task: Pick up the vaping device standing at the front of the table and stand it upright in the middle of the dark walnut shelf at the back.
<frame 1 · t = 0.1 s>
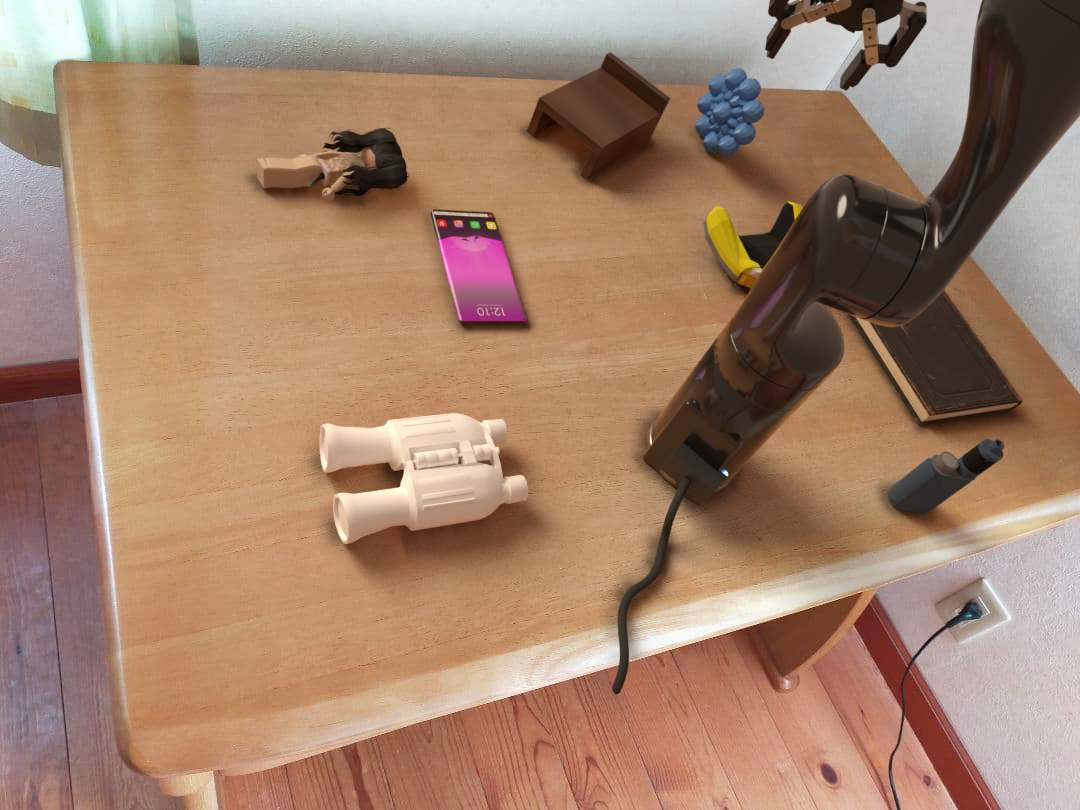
hand: (806, 69, 92), 22 cm above the table, tool pointing down, fingers open, 8 cm apart
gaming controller: (752, 262, 107), on the table
grapes: (712, 151, 119), on the table
hardcover book: (914, 341, 109), on the table
vaping device: (906, 503, 92), on the table
binoculars: (419, 484, 75), on the table
smartphone: (475, 269, 92), on the table
toy figure: (333, 185, 93), on the table
shelf: (589, 137, 111), on the table
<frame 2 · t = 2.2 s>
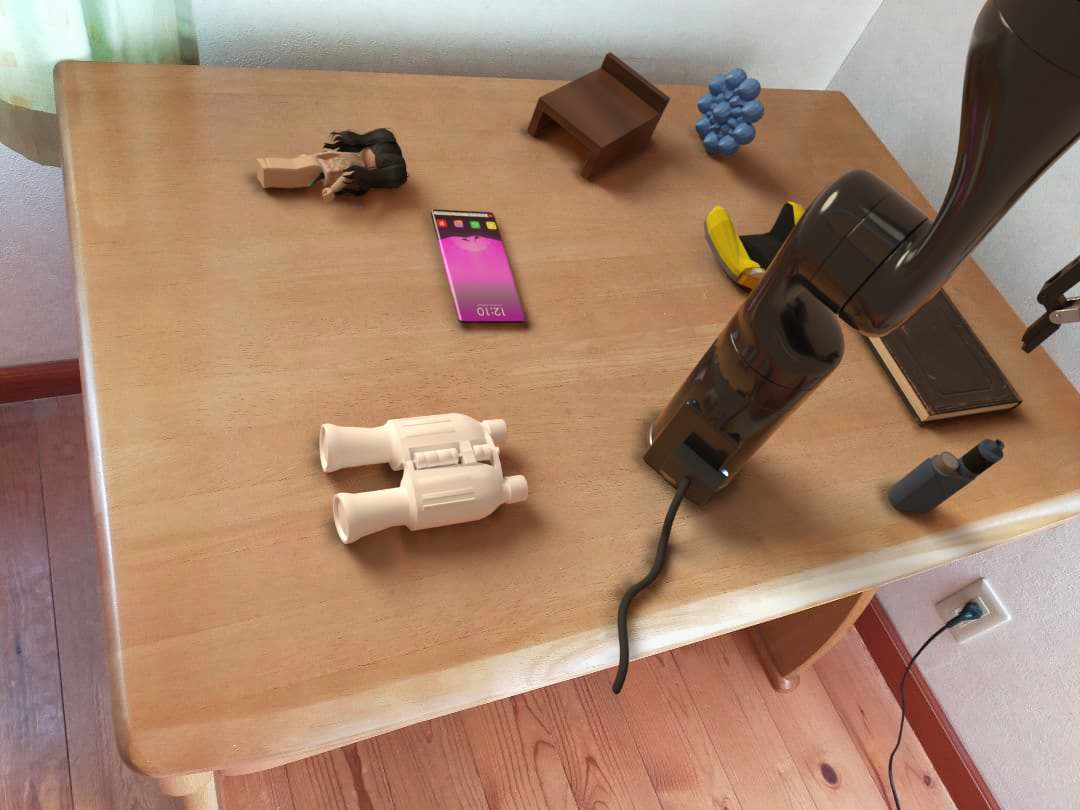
hand: (1068, 379, 75), 22 cm above the table, tool pointing down, fingers open, 8 cm apart
nothing on the table moved.
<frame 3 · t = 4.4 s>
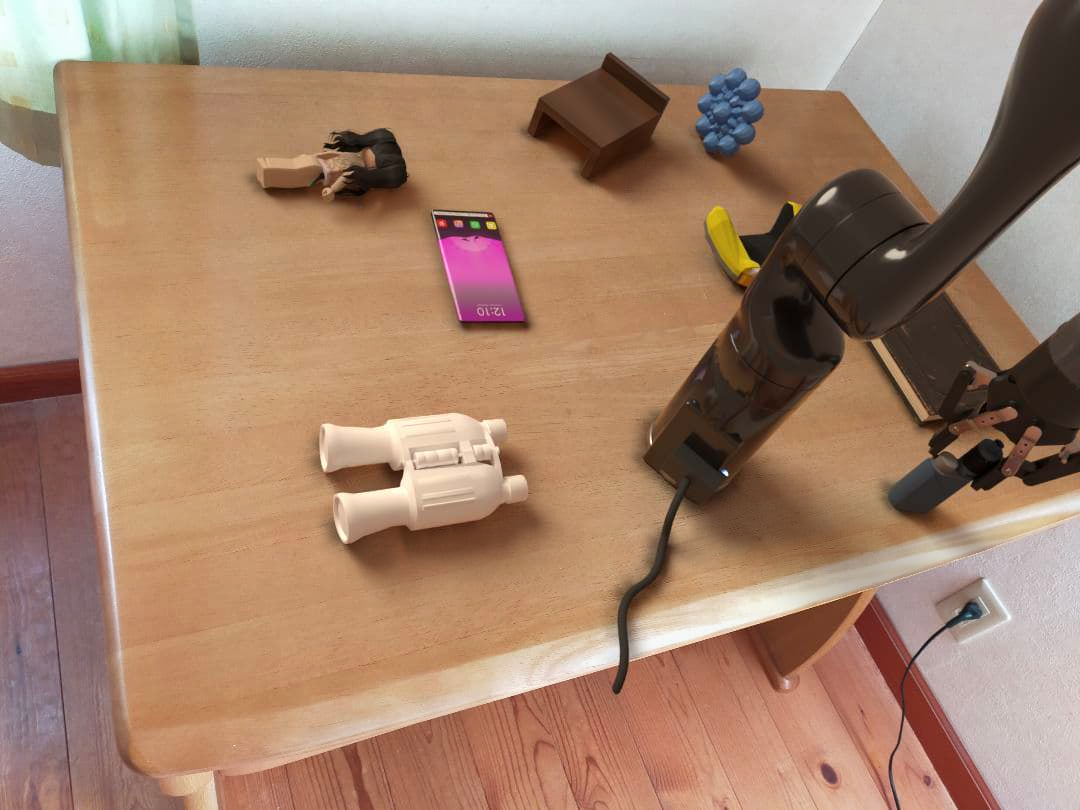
hand: (955, 466, 86), 7 cm above the table, tool pointing down, fingers closed on vaping device, 4 cm apart
vaping device: (906, 503, 92), on the table, touching gripper
everything else where it was.
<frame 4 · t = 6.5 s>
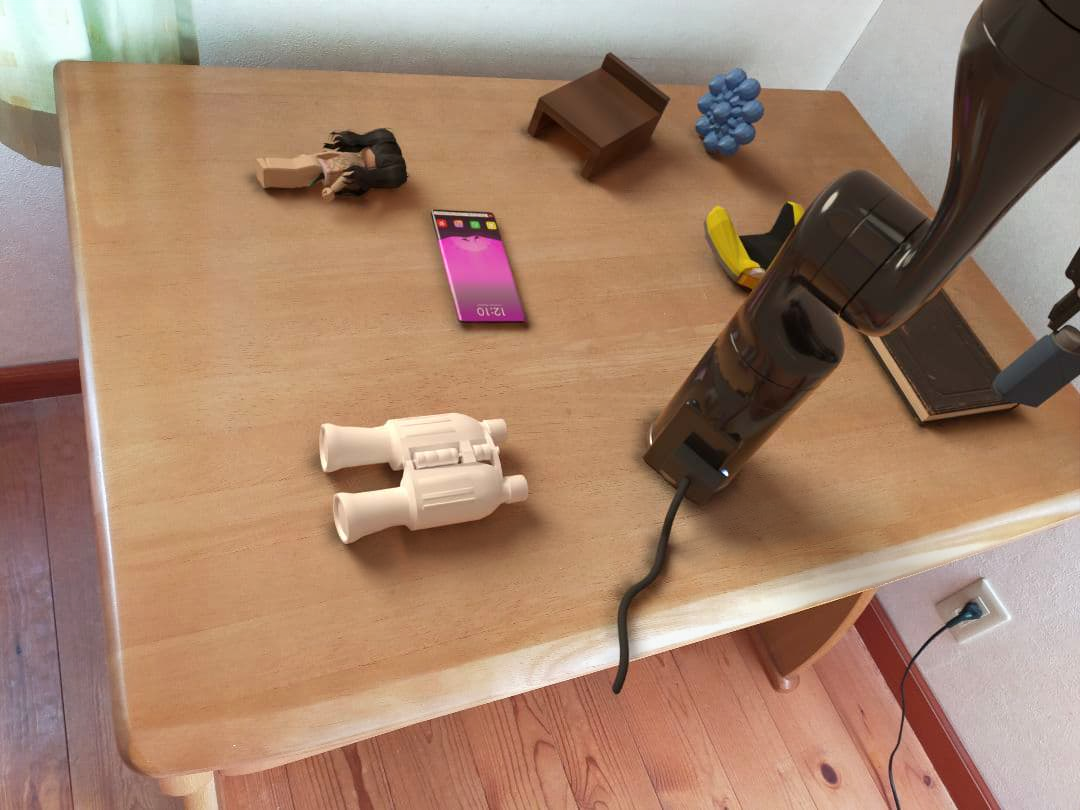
hand: (1078, 343, 74), 25 cm above the table, tool pointing down, fingers closed on vaping device, 4 cm apart
vaping device: (1012, 395, 79), point 17 cm above the table, touching gripper
everything else where it was.
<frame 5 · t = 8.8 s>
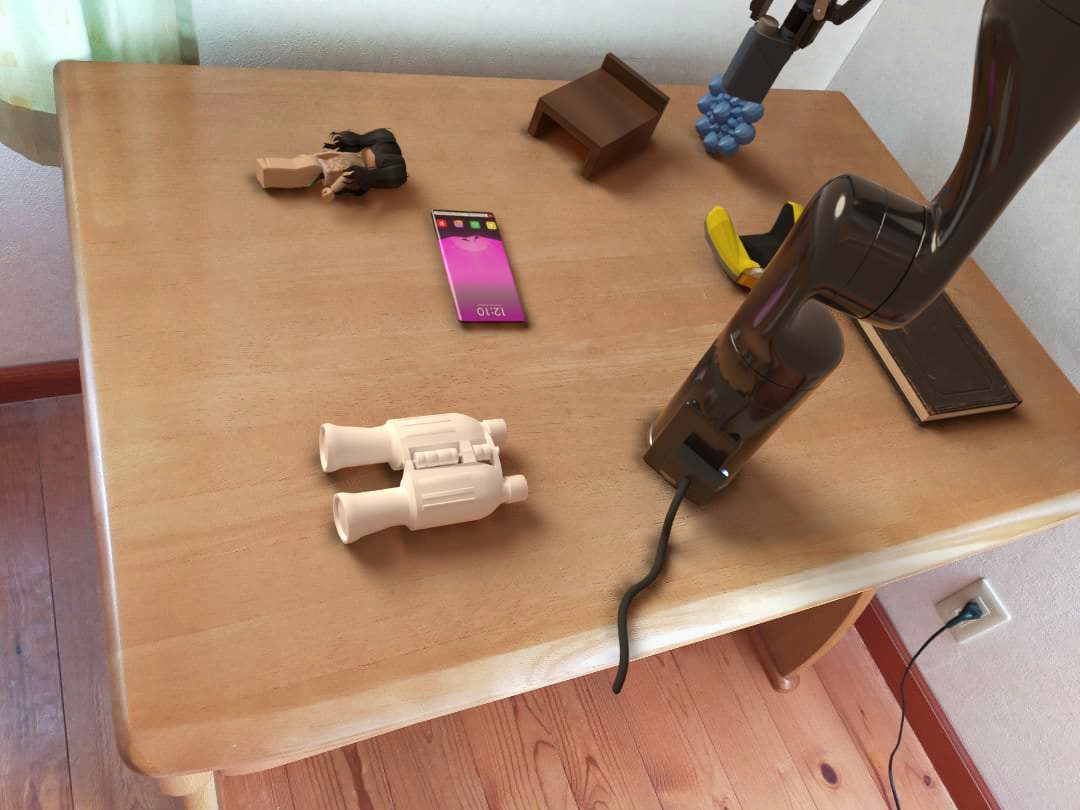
hand: (776, 32, 87), 26 cm above the table, tool pointing down, fingers closed on vaping device, 4 cm apart
vaping device: (740, 94, 93), point 18 cm above the table, touching gripper
everything else where it was.
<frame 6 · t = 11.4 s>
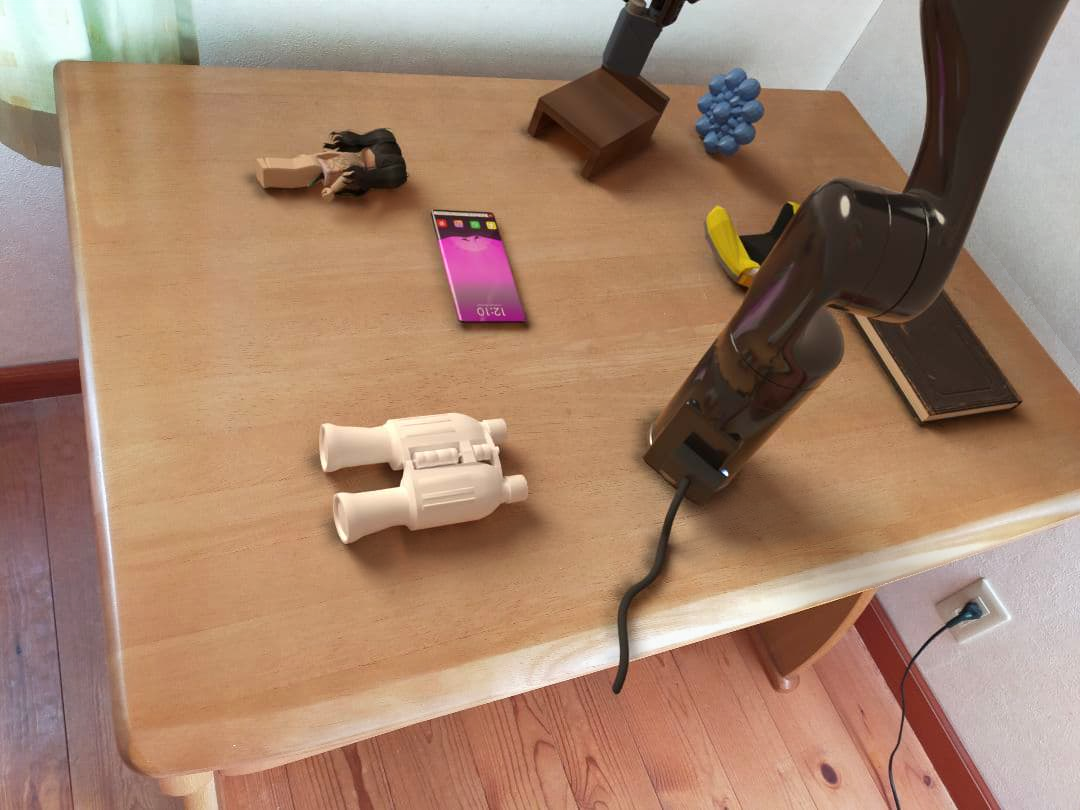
hand: (644, 12, 98), 18 cm above the table, tool pointing down, fingers closed on vaping device, 4 cm apart
vaping device: (620, 69, 104), point 10 cm above the table, touching gripper
everything else where it was.
when the fingers open (12 cm above the table, at t = 13.2 s): vaping device stays where it is, resting on shelf.
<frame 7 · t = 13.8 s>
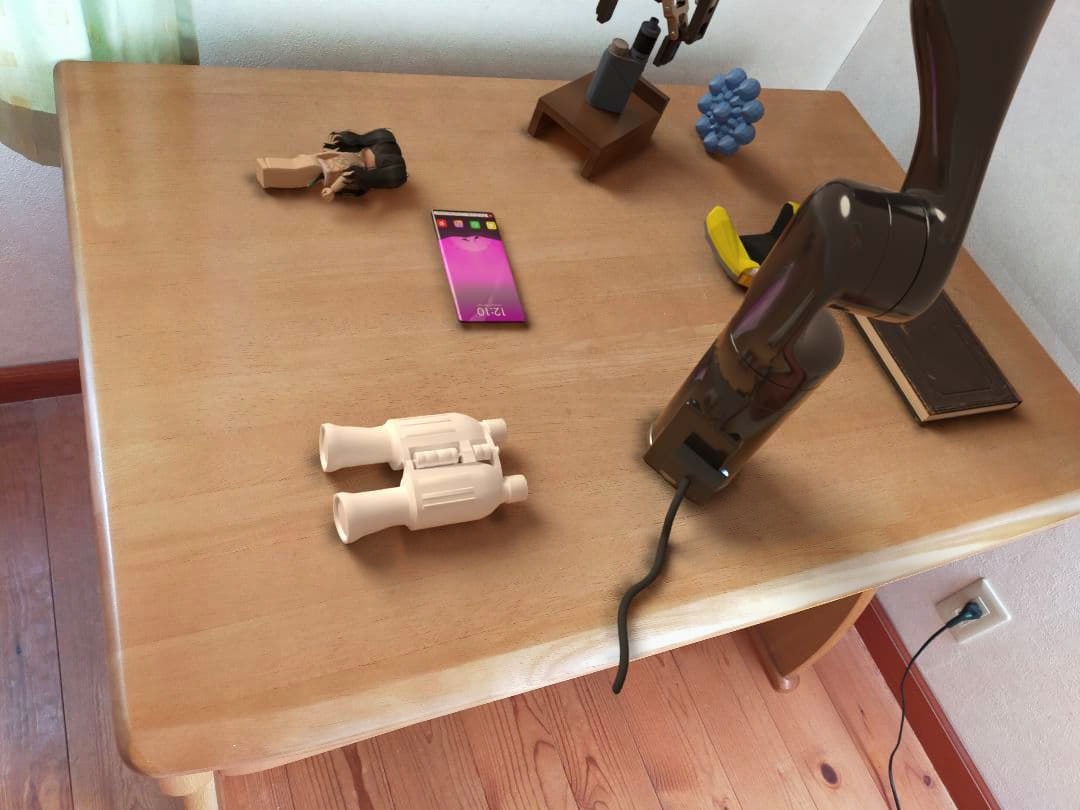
hand: (630, 42, 101), 14 cm above the table, tool pointing down, fingers open, 8 cm apart
vaping device: (604, 105, 108), point 5 cm above the table, touching shelf
everything else where it was.
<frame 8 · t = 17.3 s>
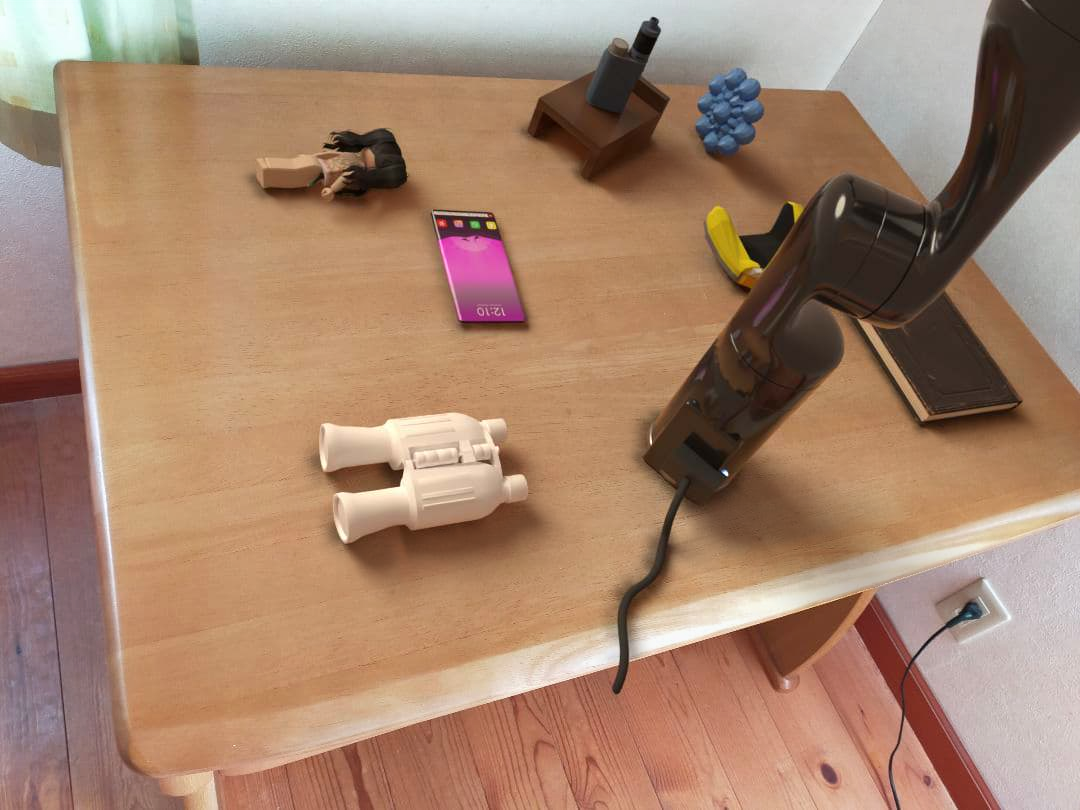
nothing on the table moved.
at the end: vaping device inside the target area on the shelf (0.2 cm from its centre), point 4.8 cm above the shelf's base; vaping device tilted 0°; the gripper is holding nothing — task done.
